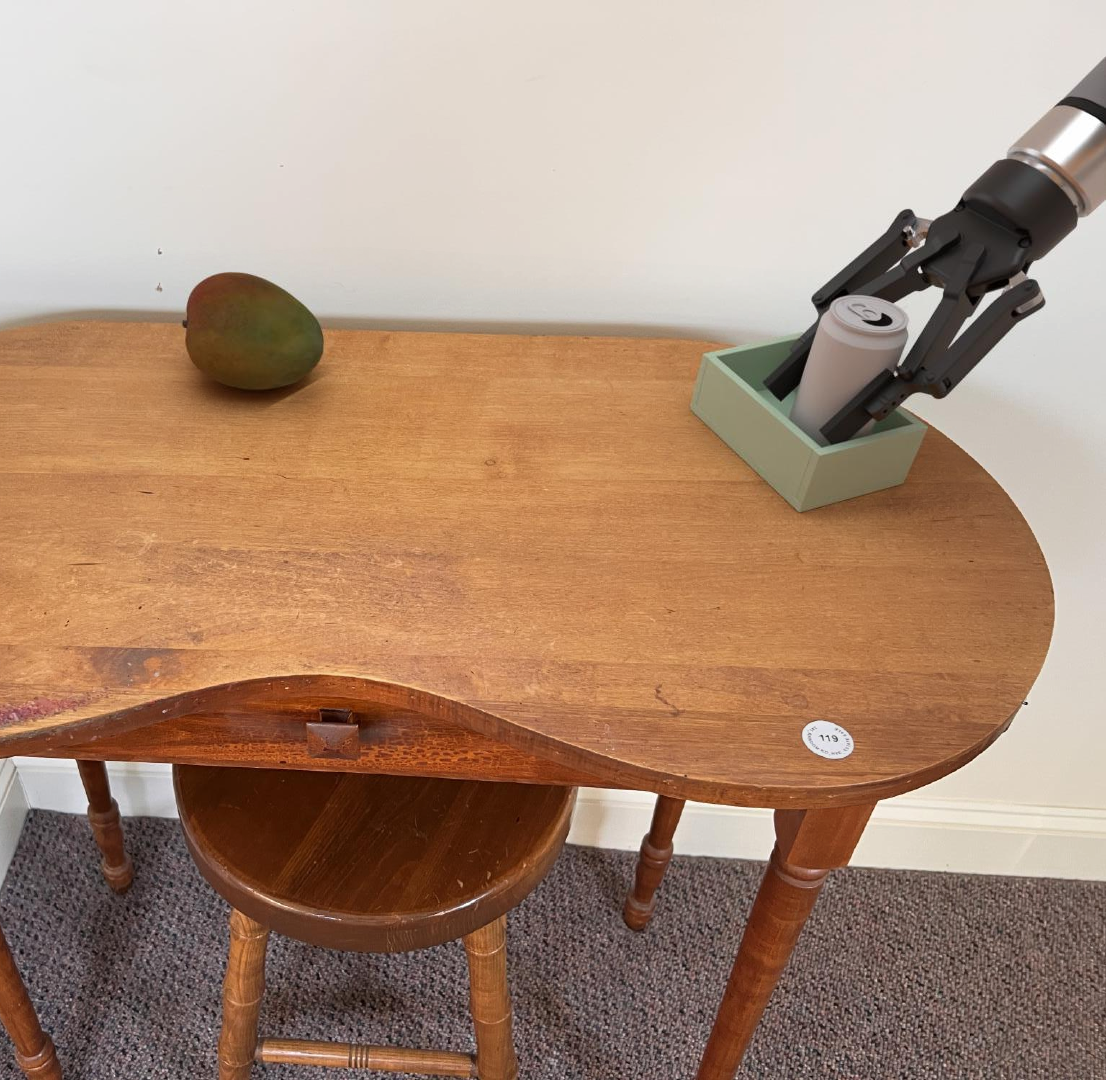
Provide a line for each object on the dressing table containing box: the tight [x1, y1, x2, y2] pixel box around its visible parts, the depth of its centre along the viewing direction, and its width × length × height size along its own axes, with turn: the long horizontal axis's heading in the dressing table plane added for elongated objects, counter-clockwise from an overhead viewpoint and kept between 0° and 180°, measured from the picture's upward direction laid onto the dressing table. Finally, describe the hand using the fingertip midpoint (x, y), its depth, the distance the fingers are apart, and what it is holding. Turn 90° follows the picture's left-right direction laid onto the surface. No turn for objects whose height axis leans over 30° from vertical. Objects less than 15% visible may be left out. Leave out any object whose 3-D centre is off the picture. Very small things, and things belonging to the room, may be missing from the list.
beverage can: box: [788, 295, 910, 448], centre depth 82 cm, size 6×6×12 cm
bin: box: [689, 331, 929, 513], centre depth 88 cm, size 16×11×6 cm
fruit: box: [182, 271, 325, 391], centre depth 93 cm, size 12×12×10 cm
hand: (799, 415), depth 83 cm, fingers closed on beverage can, 6 cm apart
